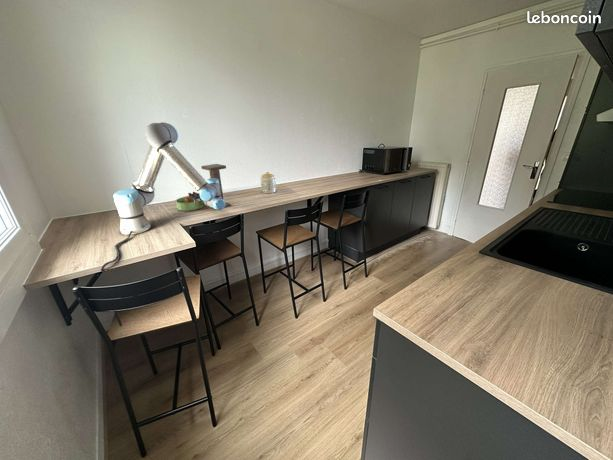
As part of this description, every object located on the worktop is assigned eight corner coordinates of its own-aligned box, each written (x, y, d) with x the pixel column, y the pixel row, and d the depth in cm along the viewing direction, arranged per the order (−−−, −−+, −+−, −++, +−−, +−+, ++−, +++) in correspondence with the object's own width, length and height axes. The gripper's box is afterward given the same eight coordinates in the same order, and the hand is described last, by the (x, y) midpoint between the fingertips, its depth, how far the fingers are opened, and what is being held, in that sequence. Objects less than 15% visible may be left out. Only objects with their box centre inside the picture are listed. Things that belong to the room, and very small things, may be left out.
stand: (231, 205, 189) (225, 165, 177) (216, 209, 181) (210, 167, 169) (222, 202, 197) (216, 163, 184) (208, 206, 188) (201, 166, 176)
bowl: (207, 208, 184) (206, 200, 182) (178, 213, 176) (176, 204, 173) (203, 201, 200) (202, 194, 197) (176, 205, 191) (174, 197, 189)
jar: (273, 189, 234) (272, 170, 227) (278, 192, 223) (277, 172, 216) (259, 190, 229) (258, 171, 222) (263, 194, 218) (262, 173, 211)
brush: (200, 195, 179) (198, 190, 179) (192, 197, 175) (190, 191, 174) (193, 202, 191) (190, 197, 191) (185, 204, 187) (183, 199, 187)
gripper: (198, 208, 163) (181, 201, 178) (219, 202, 174) (202, 196, 188) (196, 197, 160) (179, 191, 175) (217, 192, 171) (200, 187, 185)
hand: (191, 194), depth 181 cm, fingers closed on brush, 2 cm apart
